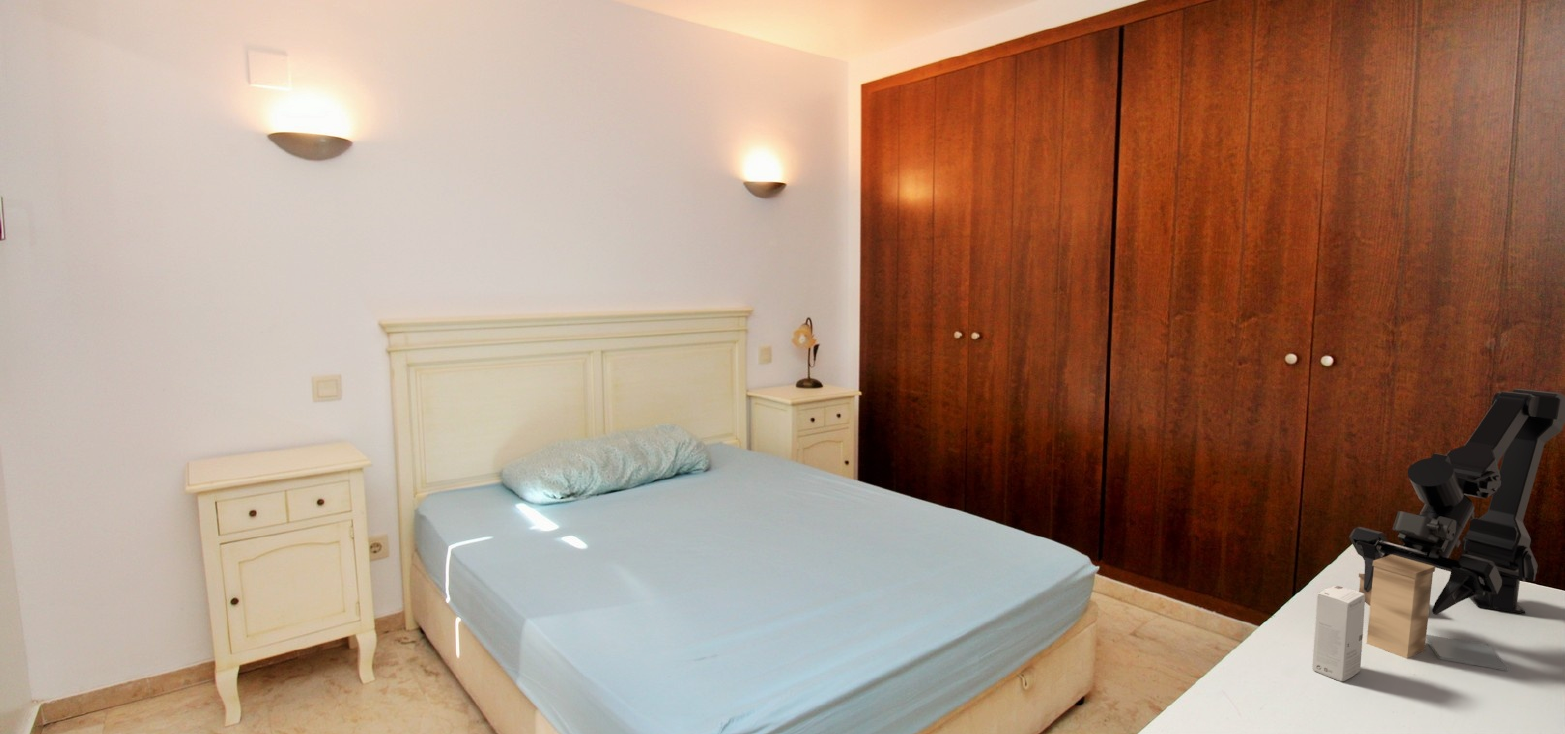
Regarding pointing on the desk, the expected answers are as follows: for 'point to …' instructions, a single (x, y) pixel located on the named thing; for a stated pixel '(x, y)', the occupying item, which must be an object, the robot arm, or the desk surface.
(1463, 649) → the coaster
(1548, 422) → the robot arm
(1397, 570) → the oak tea canister
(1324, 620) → the skincare box
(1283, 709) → the desk surface
